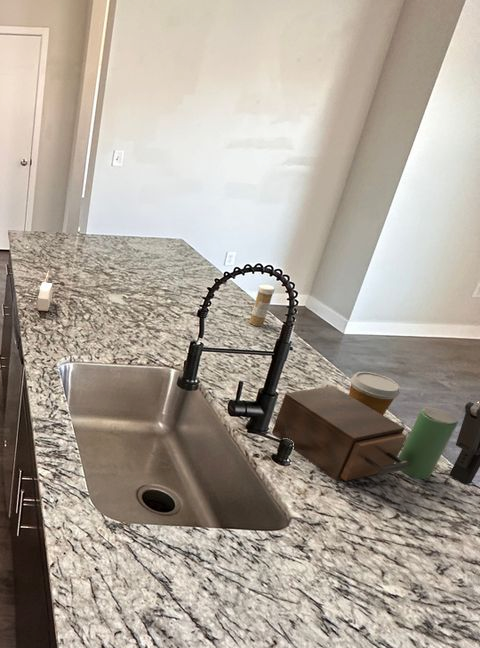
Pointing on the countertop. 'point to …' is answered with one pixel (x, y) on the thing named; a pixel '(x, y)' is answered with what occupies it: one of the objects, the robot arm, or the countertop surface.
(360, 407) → the cabinet
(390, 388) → the disposable coffee cup
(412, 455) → the green can
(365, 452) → the drawer
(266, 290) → the sprinkles bottle
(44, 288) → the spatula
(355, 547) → the countertop surface
